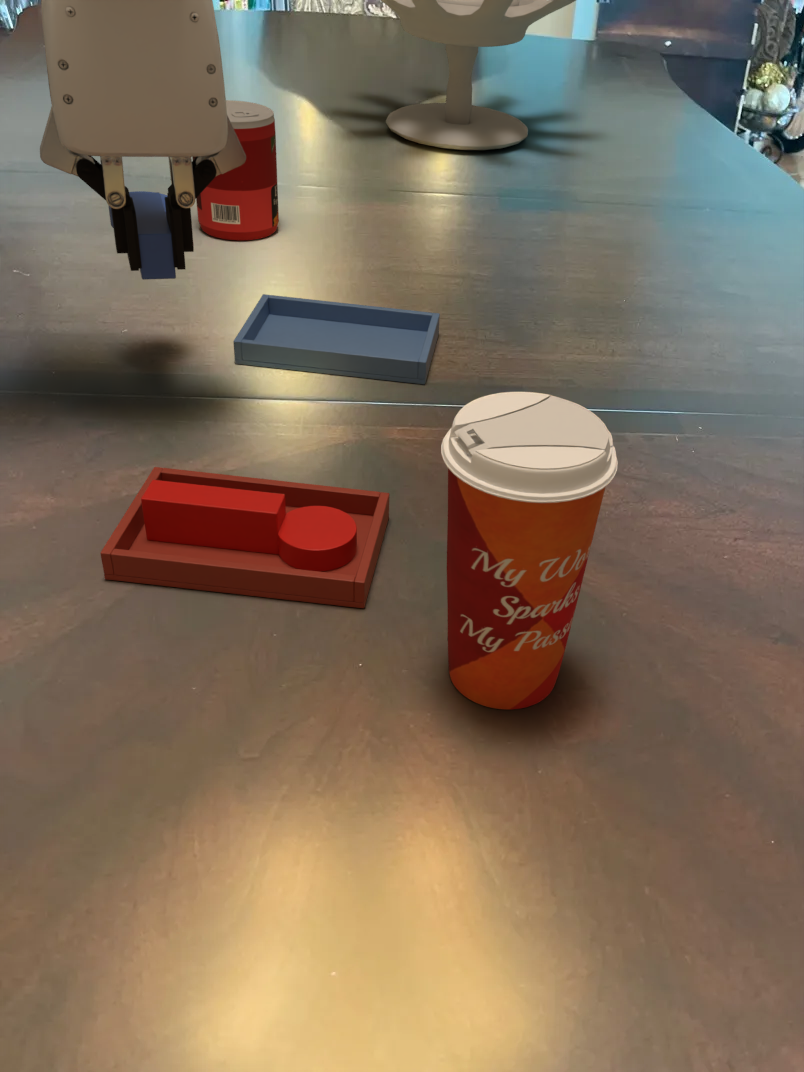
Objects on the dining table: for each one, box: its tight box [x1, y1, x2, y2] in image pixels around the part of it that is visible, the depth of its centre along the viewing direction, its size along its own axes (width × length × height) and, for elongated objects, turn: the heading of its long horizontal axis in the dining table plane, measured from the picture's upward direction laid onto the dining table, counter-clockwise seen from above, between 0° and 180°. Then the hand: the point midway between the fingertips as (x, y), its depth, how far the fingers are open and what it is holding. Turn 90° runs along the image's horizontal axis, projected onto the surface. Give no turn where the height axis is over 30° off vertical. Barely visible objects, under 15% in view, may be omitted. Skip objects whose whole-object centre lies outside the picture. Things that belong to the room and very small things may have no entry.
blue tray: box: [232, 293, 441, 385], centre depth 86 cm, size 15×10×2 cm, turn 85°
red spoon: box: [141, 480, 357, 572], centre depth 63 cm, size 13×5×3 cm, turn 85°
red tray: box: [99, 466, 391, 609], centre depth 64 cm, size 15×10×2 cm, turn 85°
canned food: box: [191, 99, 280, 241], centre depth 103 cm, size 8×8×11 cm
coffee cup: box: [440, 391, 619, 710], centre depth 53 cm, size 8×8×15 cm
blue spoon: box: [107, 190, 177, 281], centre depth 73 cm, size 13×5×3 cm, turn 19°
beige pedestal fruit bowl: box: [380, 0, 577, 151], centre depth 130 cm, size 34×35×27 cm
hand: (156, 260), depth 70 cm, fingers closed on blue spoon, 2 cm apart
